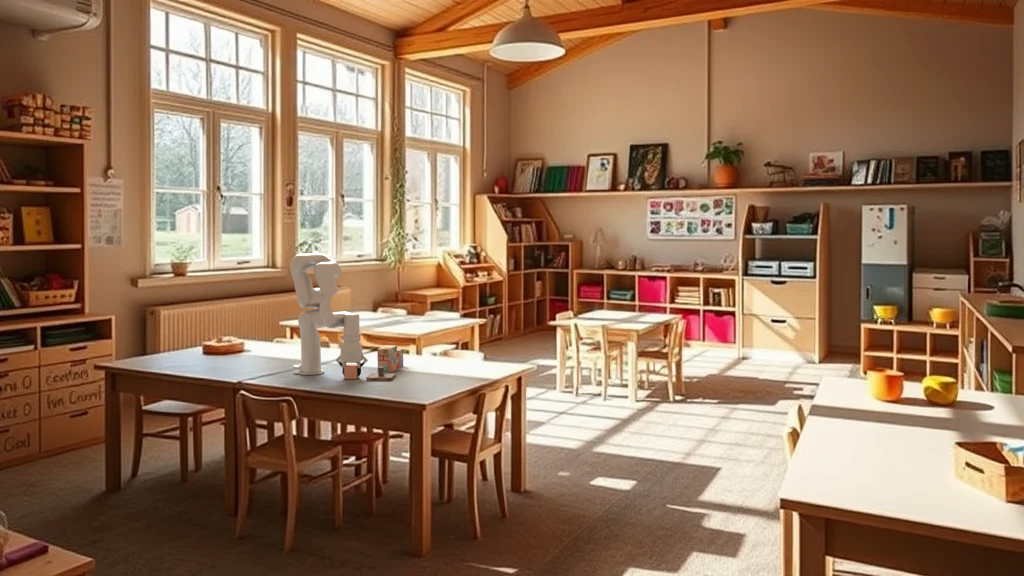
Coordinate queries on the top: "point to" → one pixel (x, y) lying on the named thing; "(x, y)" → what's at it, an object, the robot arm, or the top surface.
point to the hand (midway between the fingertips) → (351, 375)
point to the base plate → (381, 376)
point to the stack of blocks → (390, 358)
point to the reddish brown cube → (350, 371)
